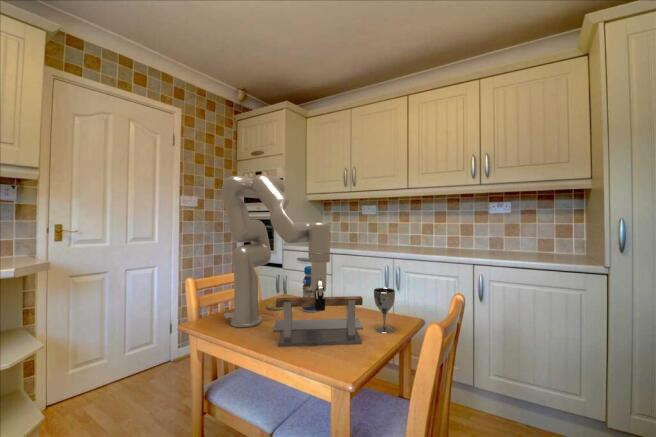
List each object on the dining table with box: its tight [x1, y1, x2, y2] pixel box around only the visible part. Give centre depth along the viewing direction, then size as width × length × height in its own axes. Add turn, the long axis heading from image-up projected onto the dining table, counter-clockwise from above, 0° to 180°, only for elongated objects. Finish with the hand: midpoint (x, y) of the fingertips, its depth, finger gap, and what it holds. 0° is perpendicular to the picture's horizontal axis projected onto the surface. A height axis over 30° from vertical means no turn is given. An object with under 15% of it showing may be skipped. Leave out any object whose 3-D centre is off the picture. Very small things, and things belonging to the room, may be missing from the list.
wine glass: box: [373, 287, 396, 334], centre depth 115 cm, size 8×8×15 cm
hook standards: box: [277, 300, 363, 348], centre depth 106 cm, size 28×10×14 cm, turn 94°
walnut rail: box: [275, 295, 364, 308], centre depth 106 cm, size 30×3×2 cm, turn 94°
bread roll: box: [266, 299, 284, 311], centre depth 144 cm, size 8×9×4 cm
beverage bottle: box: [302, 265, 318, 313], centre depth 141 cm, size 8×8×20 cm
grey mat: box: [272, 317, 364, 333], centre depth 120 cm, size 34×11×1 cm, turn 94°
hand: (319, 306), depth 106 cm, fingers open, 9 cm apart
